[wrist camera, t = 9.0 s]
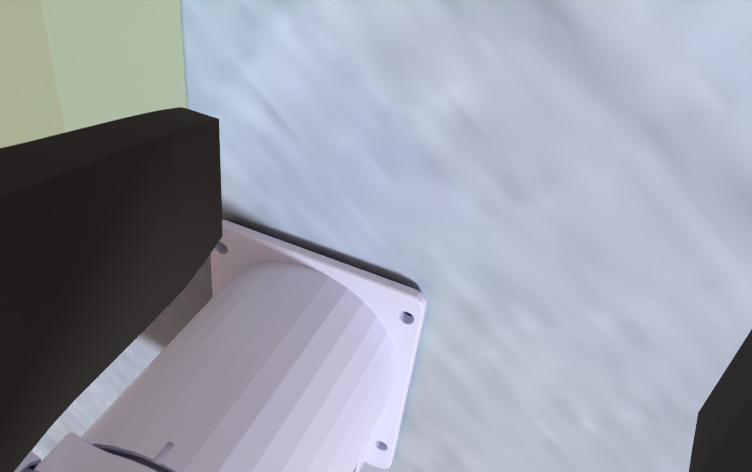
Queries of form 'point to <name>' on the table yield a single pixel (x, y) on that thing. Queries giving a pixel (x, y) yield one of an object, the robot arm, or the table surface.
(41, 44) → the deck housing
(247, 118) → the table surface
